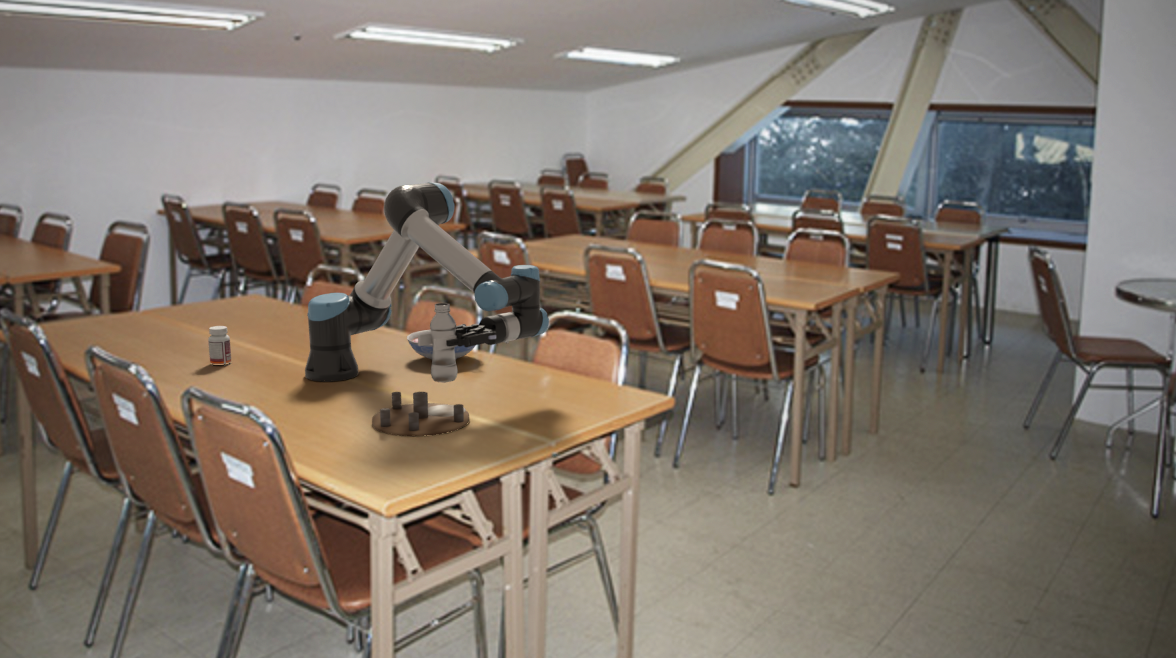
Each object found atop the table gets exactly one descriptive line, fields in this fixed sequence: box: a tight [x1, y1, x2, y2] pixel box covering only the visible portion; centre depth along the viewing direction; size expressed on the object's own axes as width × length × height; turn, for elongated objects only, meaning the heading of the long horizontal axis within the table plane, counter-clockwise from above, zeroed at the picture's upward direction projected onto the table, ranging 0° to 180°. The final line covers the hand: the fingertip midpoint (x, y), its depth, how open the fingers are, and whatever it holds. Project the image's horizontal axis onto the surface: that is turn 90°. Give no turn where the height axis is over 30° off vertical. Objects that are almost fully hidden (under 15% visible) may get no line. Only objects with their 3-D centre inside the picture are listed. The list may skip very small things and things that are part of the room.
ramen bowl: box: [406, 329, 477, 361], centre depth 317 cm, size 25×23×8 cm
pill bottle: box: [207, 325, 232, 364], centre depth 310 cm, size 6×6×11 cm
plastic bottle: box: [429, 302, 458, 384], centre depth 257 cm, size 6×7×20 cm
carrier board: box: [371, 391, 470, 437], centre depth 255 cm, size 24×24×7 cm
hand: (426, 342), depth 253 cm, fingers closed on plastic bottle, 6 cm apart
